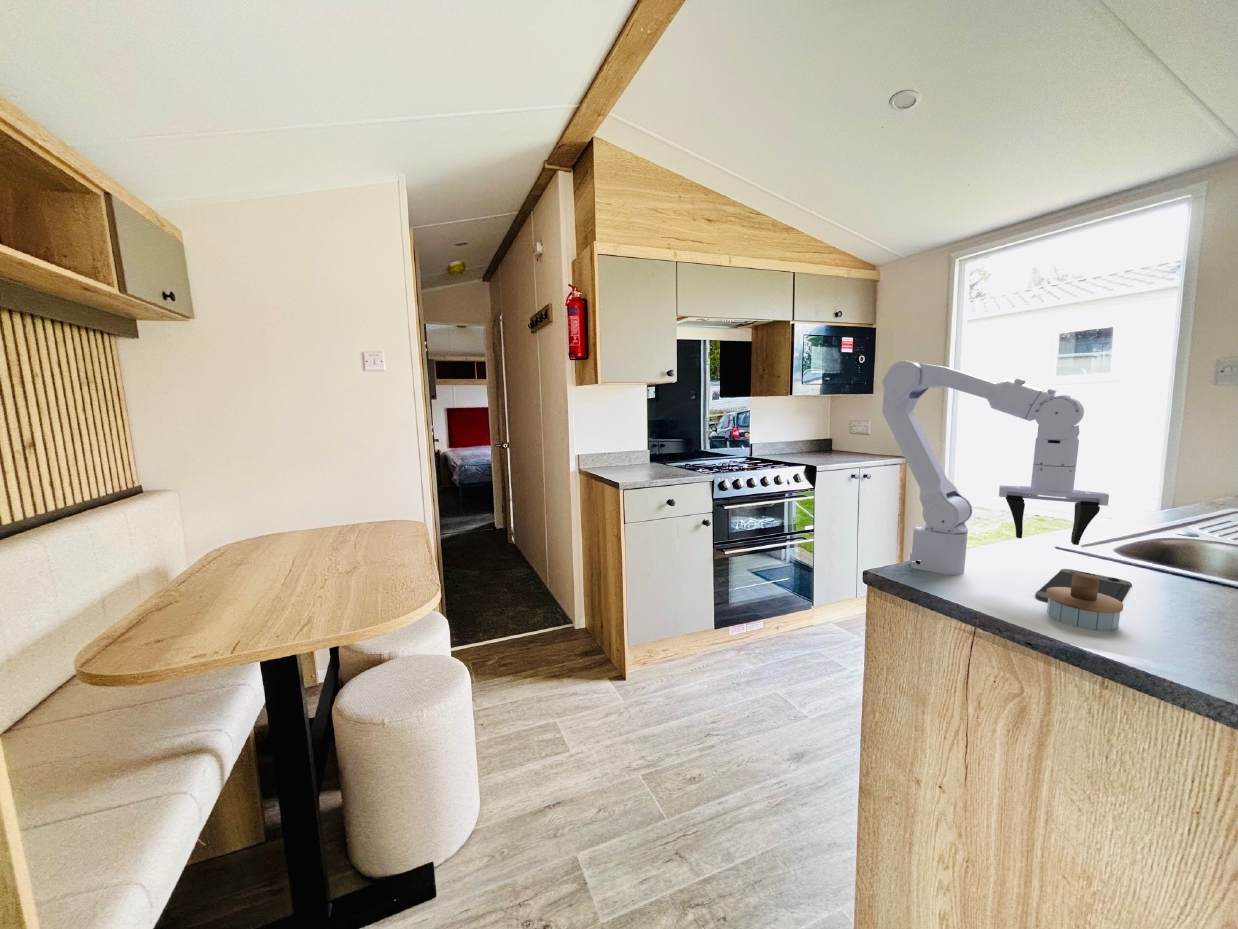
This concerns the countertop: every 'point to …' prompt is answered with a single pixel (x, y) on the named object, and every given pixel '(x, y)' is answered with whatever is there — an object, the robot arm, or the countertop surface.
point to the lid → (1084, 595)
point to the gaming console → (1106, 584)
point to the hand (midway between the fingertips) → (1046, 540)
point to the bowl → (1083, 617)
